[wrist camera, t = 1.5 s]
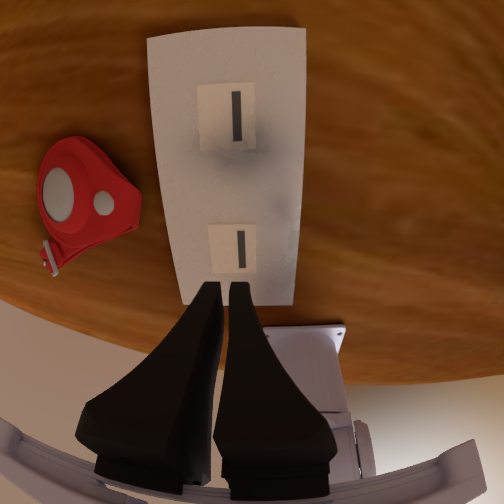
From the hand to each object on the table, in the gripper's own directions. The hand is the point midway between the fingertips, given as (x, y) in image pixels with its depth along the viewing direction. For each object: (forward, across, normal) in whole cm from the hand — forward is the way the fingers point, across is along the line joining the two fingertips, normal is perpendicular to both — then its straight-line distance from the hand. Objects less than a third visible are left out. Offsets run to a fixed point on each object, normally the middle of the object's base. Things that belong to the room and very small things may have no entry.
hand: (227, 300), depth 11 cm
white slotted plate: (+9, 0, -2) cm, 10 cm away
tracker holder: (+10, +13, -1) cm, 16 cm away
